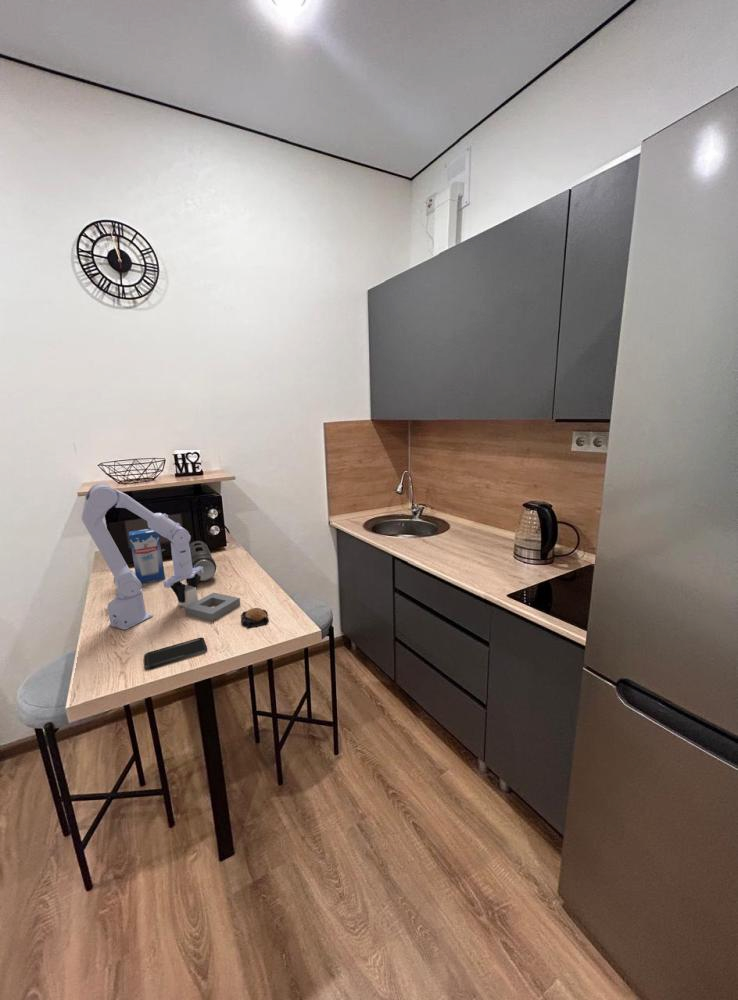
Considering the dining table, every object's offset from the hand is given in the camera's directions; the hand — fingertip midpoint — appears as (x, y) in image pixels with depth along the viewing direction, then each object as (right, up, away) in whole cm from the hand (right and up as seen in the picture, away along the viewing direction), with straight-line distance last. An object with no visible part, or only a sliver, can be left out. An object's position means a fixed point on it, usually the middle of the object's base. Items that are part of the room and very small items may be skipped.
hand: (187, 599), depth 138 cm
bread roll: (+27, -4, -12) cm, 30 cm away
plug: (0, -2, 0) cm, 2 cm away
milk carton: (-25, +2, +23) cm, 35 cm away
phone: (+10, -8, -30) cm, 32 cm away
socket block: (+11, -2, -5) cm, 12 cm away
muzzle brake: (-7, +4, +29) cm, 30 cm away
